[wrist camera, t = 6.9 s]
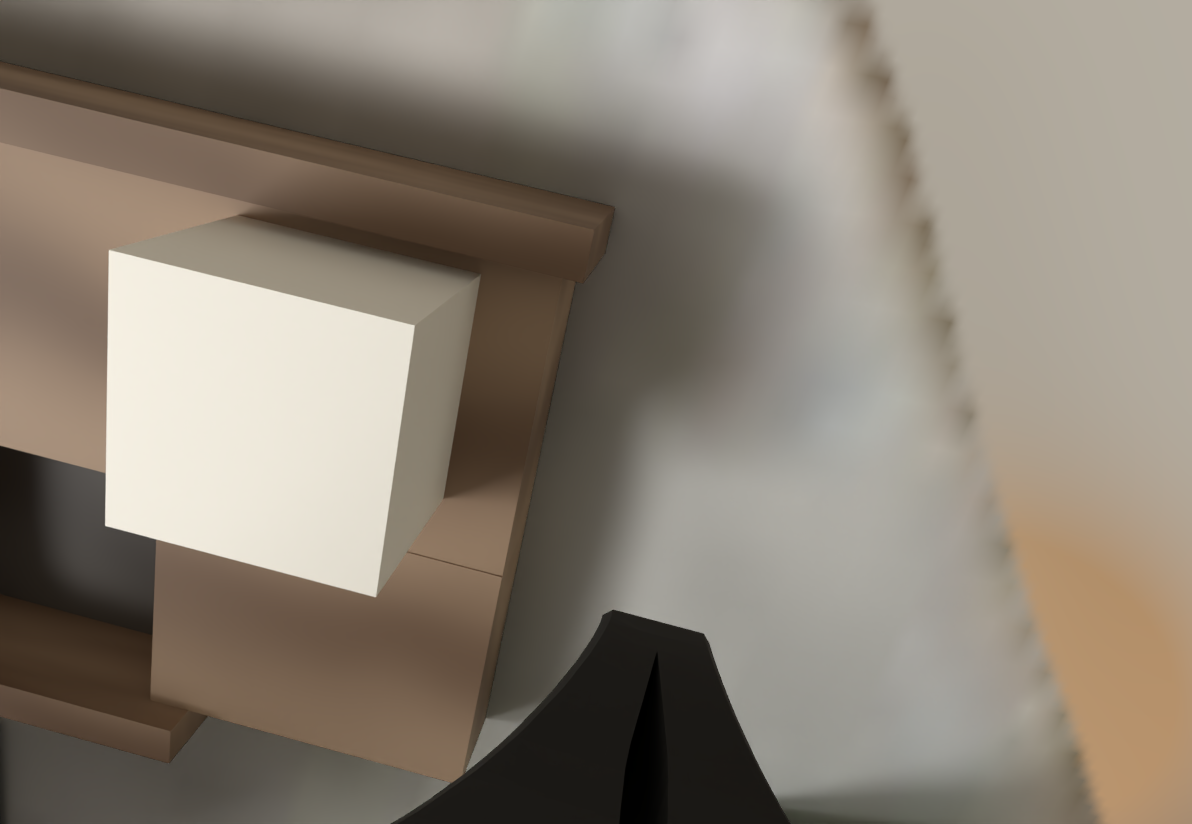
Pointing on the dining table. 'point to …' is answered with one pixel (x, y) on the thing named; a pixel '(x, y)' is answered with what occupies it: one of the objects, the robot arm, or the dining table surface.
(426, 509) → the block
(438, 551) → the trap box
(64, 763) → the dining table surface
